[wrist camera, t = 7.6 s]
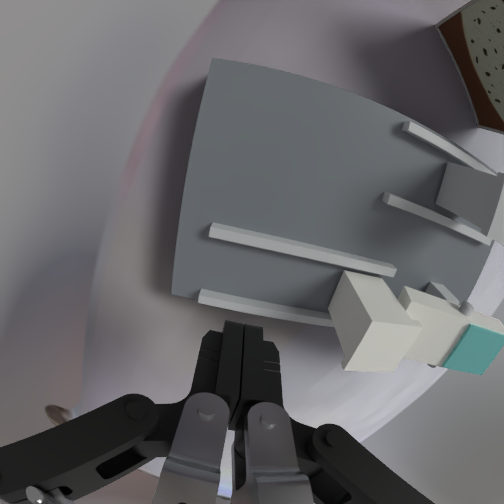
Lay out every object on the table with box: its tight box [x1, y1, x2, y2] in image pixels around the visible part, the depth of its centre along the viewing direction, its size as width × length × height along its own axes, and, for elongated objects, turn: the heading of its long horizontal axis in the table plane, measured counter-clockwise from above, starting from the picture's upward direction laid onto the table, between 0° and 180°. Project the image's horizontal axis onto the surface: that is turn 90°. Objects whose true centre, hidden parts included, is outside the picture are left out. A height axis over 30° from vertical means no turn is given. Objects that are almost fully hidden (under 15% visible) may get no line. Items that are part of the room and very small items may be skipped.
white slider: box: [328, 270, 423, 372], centre depth 15 cm, size 3×3×6 cm
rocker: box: [398, 286, 504, 375], centre depth 14 cm, size 5×10×2 cm, turn 77°
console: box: [171, 58, 498, 328], centre depth 16 cm, size 15×24×6 cm, turn 77°
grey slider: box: [435, 162, 504, 246], centre depth 12 cm, size 3×3×6 cm
